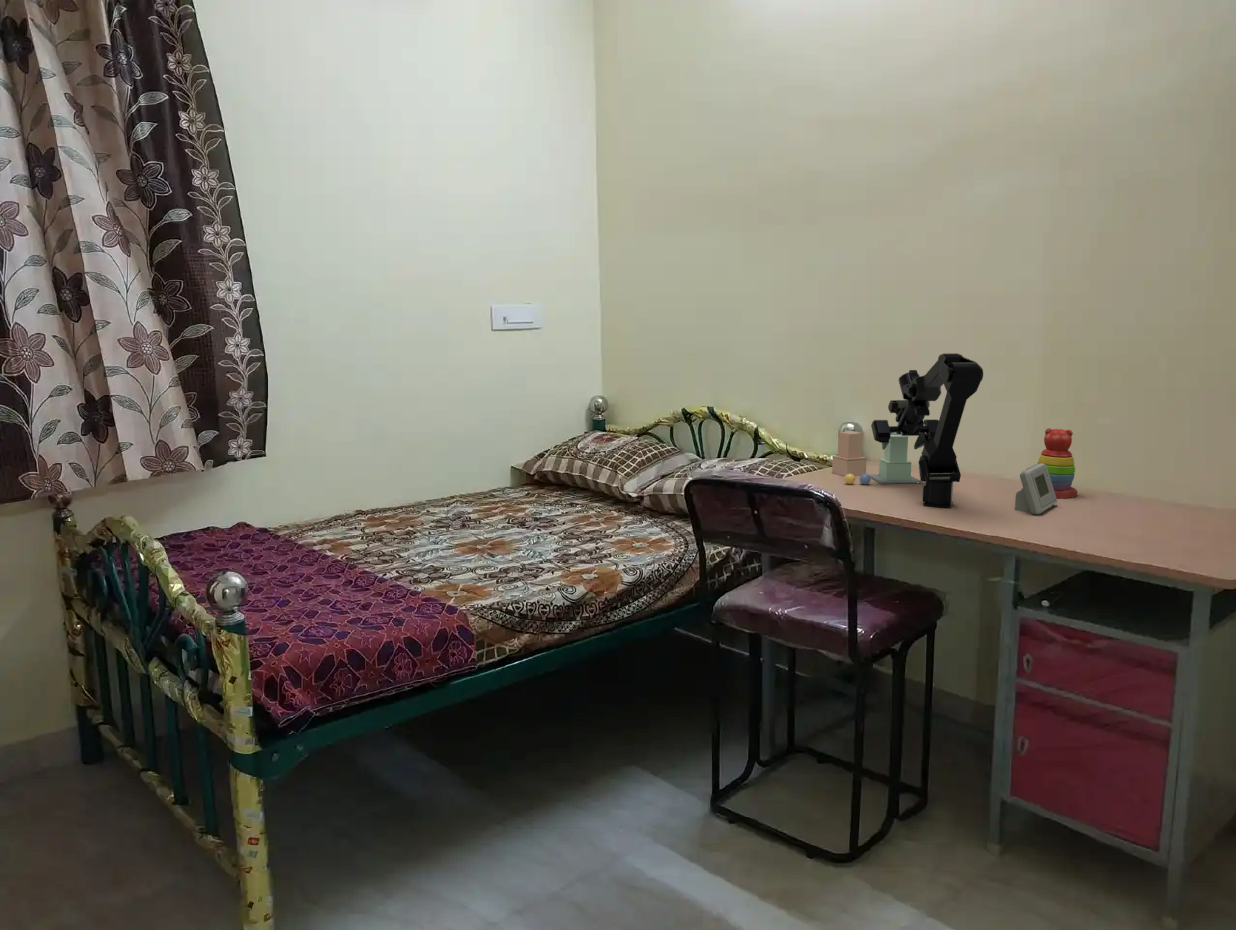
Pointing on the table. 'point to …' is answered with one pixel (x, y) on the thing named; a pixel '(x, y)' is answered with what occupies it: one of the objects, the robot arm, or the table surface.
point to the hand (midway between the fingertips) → (898, 448)
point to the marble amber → (849, 478)
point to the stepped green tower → (895, 460)
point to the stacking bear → (1059, 461)
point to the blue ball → (865, 479)
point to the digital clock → (1035, 490)
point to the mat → (883, 481)
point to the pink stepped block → (849, 455)
